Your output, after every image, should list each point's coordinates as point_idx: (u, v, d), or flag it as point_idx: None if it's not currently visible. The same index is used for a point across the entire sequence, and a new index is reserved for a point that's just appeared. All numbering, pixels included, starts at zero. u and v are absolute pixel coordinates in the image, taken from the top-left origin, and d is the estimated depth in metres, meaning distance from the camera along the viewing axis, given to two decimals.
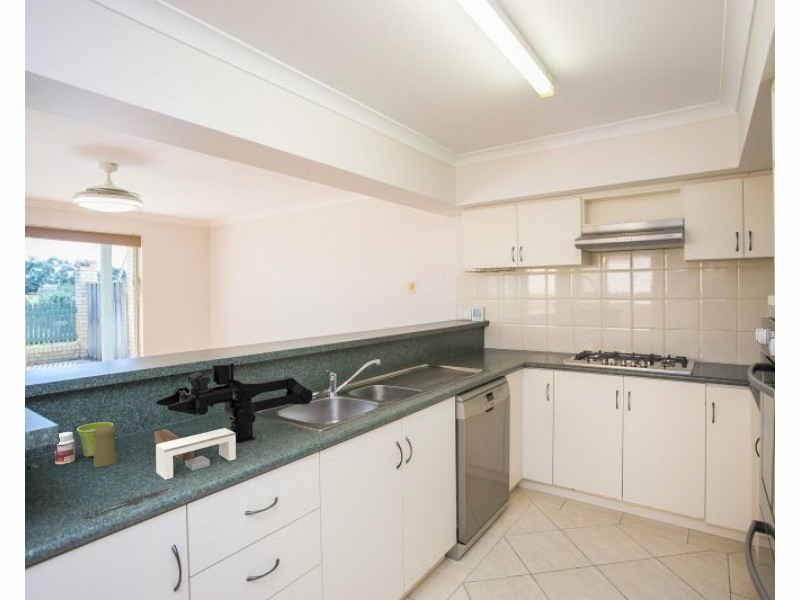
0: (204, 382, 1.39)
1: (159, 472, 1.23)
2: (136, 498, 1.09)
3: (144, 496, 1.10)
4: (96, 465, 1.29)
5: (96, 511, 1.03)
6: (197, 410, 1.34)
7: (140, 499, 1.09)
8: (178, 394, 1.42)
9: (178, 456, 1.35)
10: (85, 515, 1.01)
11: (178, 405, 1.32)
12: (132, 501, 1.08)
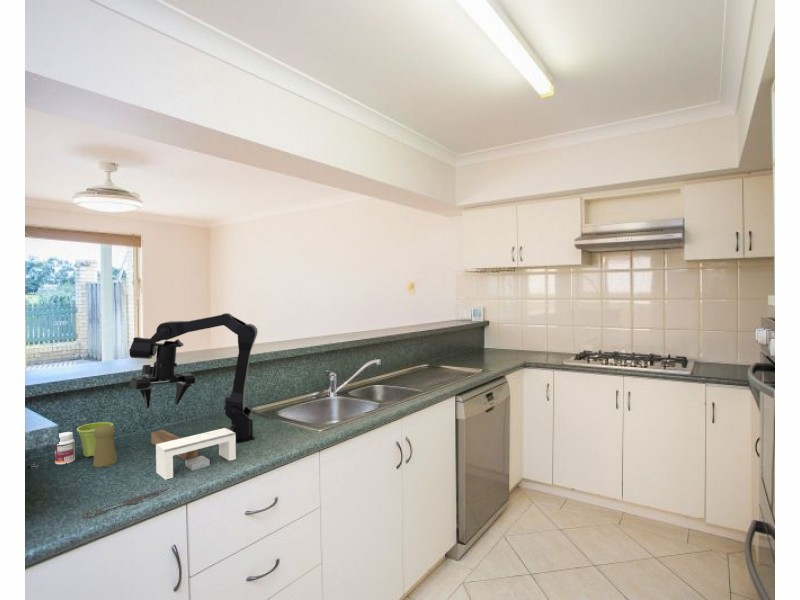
0: (144, 371, 1.47)
1: (159, 472, 1.23)
2: (136, 498, 1.09)
3: (144, 496, 1.10)
4: (96, 465, 1.29)
5: (96, 511, 1.03)
6: None
7: (140, 499, 1.09)
8: (177, 384, 1.52)
9: (181, 455, 1.36)
10: (85, 515, 1.01)
11: (144, 400, 1.43)
12: (132, 501, 1.08)
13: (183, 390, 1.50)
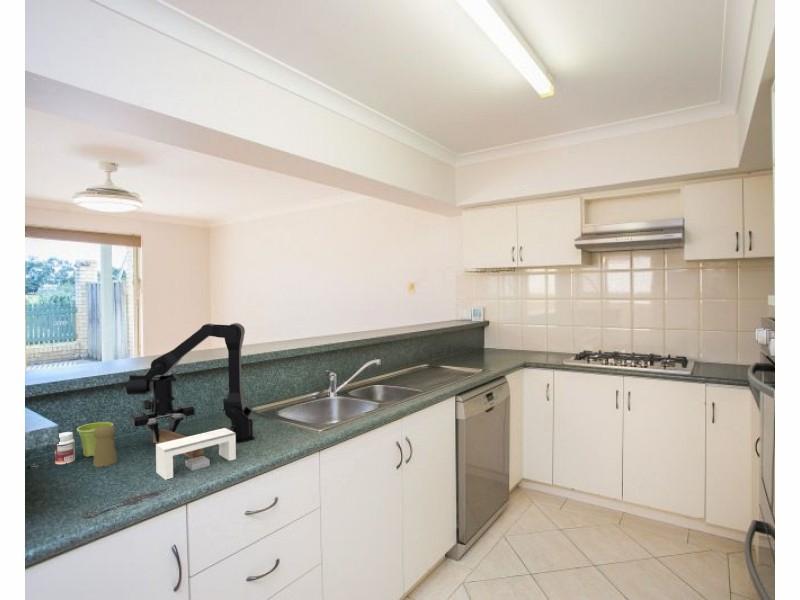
0: (143, 406, 1.49)
1: (159, 472, 1.23)
2: (135, 497, 1.09)
3: (143, 495, 1.10)
4: (96, 465, 1.29)
5: (95, 510, 1.03)
6: None
7: None
8: (170, 418, 1.51)
9: (187, 453, 1.37)
10: (84, 514, 1.01)
11: (153, 434, 1.46)
12: None
13: (175, 425, 1.49)
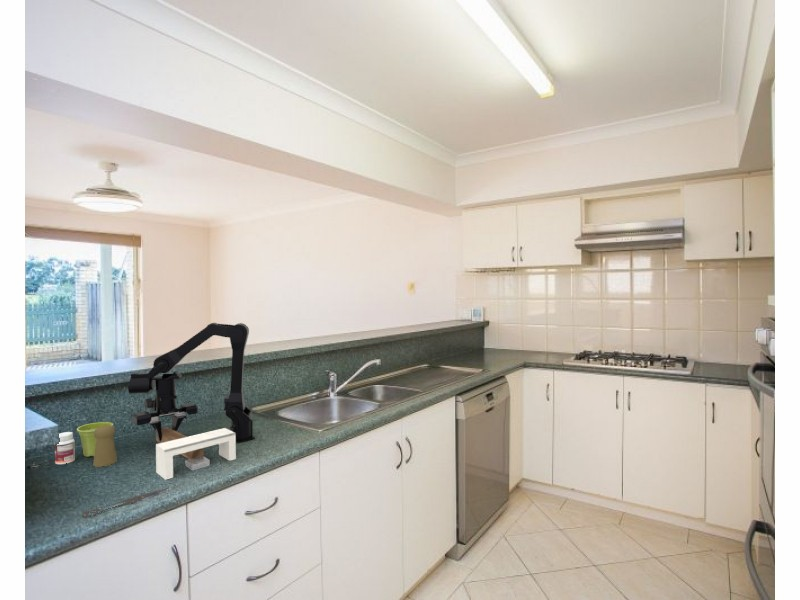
0: (146, 405, 1.47)
1: (159, 472, 1.23)
2: (135, 497, 1.09)
3: (143, 495, 1.11)
4: (96, 465, 1.29)
5: (95, 510, 1.03)
6: None
7: (139, 498, 1.09)
8: (172, 416, 1.49)
9: (187, 454, 1.35)
10: (84, 514, 1.01)
11: (156, 432, 1.45)
12: (131, 500, 1.08)
13: (178, 423, 1.47)
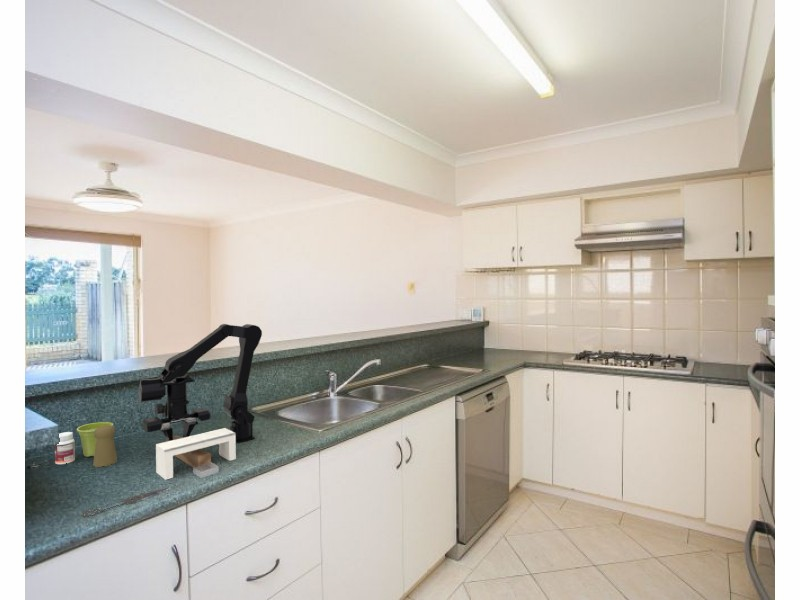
0: (156, 410, 1.41)
1: (159, 472, 1.23)
2: (135, 497, 1.10)
3: (143, 495, 1.11)
4: (96, 465, 1.29)
5: (95, 510, 1.03)
6: None
7: (139, 498, 1.09)
8: (184, 423, 1.43)
9: (193, 464, 1.28)
10: (84, 514, 1.02)
11: (167, 439, 1.38)
12: (131, 500, 1.08)
13: (189, 430, 1.40)
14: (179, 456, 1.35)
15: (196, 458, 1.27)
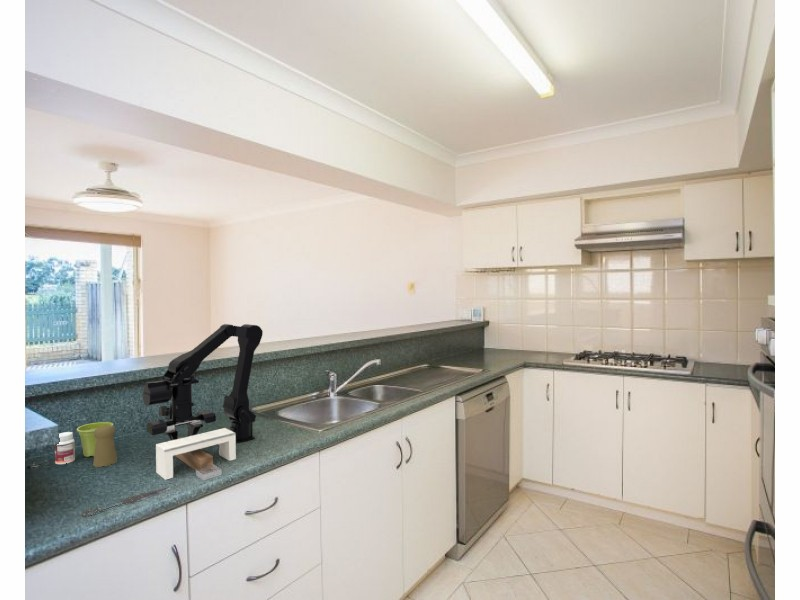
0: (160, 413, 1.38)
1: (159, 472, 1.23)
2: (135, 497, 1.10)
3: (143, 495, 1.11)
4: (96, 465, 1.29)
5: (95, 509, 1.04)
6: None
7: (139, 498, 1.09)
8: (188, 425, 1.40)
9: (195, 467, 1.26)
10: (84, 513, 1.02)
11: None
12: (131, 500, 1.08)
13: (194, 432, 1.38)
14: (181, 458, 1.33)
15: (198, 460, 1.25)
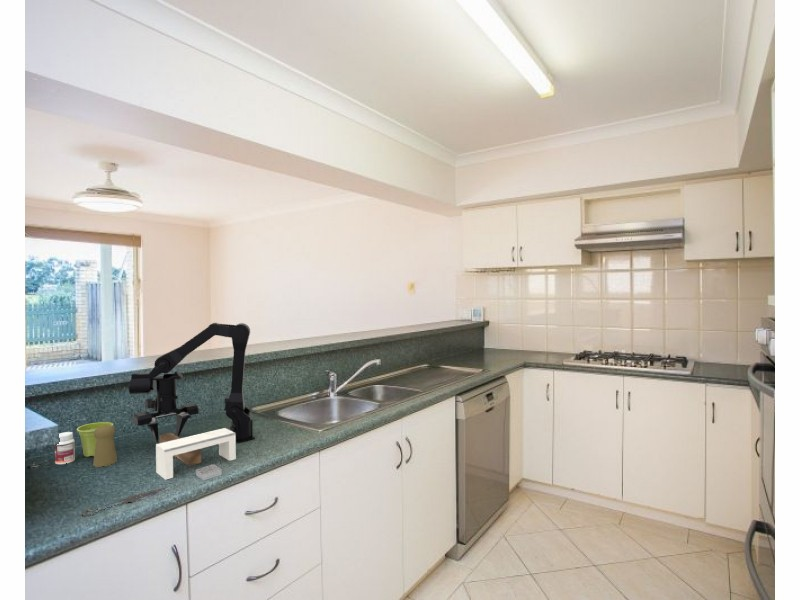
0: (146, 405, 1.47)
1: (159, 472, 1.23)
2: (134, 496, 1.10)
3: (142, 494, 1.11)
4: (96, 465, 1.29)
5: None
6: None
7: (138, 497, 1.10)
8: (177, 416, 1.50)
9: (184, 460, 1.32)
10: (83, 513, 1.02)
11: None
12: (130, 499, 1.09)
13: (182, 423, 1.47)
14: None
15: (186, 454, 1.30)
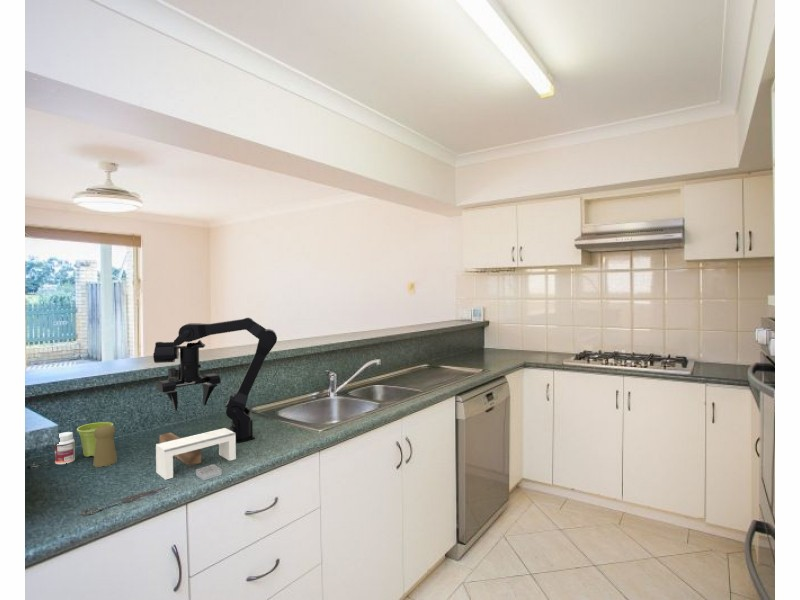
0: (169, 374, 1.48)
1: (159, 472, 1.23)
2: (134, 496, 1.10)
3: (142, 494, 1.11)
4: (96, 465, 1.29)
5: (94, 508, 1.04)
6: None
7: (138, 497, 1.10)
8: (203, 385, 1.52)
9: (184, 460, 1.32)
10: (83, 512, 1.02)
11: (172, 403, 1.44)
12: (130, 499, 1.09)
13: (209, 391, 1.50)
14: None
15: (186, 454, 1.30)
